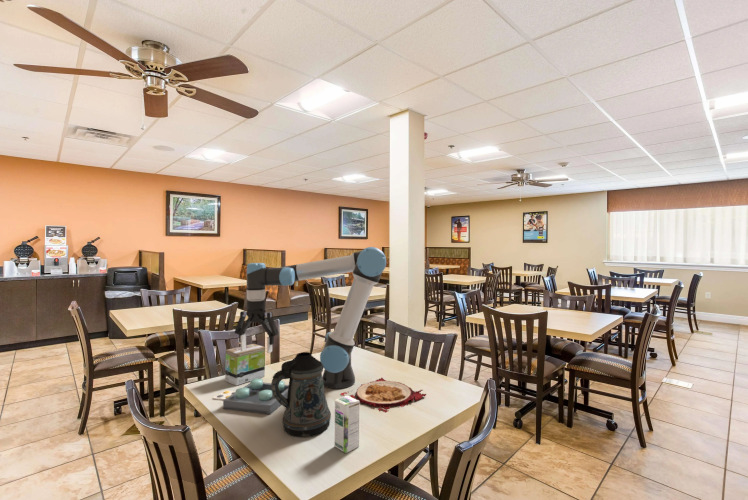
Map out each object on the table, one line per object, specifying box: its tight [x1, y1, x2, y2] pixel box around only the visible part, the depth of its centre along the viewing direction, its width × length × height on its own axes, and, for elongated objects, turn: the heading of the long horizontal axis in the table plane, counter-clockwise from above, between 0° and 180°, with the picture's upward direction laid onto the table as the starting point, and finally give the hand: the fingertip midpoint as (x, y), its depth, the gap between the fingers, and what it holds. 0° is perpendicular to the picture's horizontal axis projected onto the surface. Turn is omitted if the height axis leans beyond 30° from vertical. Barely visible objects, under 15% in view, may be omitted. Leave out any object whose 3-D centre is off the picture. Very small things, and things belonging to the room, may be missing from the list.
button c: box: [249, 378, 264, 389], centre depth 151 cm, size 5×5×2 cm
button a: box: [278, 380, 285, 391], centre depth 148 cm, size 5×5×2 cm
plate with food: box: [340, 377, 427, 414], centre depth 149 cm, size 25×26×4 cm
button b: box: [259, 390, 272, 402], centre depth 138 cm, size 5×5×2 cm
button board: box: [222, 382, 289, 415], centre depth 145 cm, size 20×20×3 cm
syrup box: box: [333, 395, 360, 454], centre depth 111 cm, size 6×6×14 cm
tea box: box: [224, 343, 266, 387], centre depth 169 cm, size 15×10×15 cm
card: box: [212, 389, 236, 401], centre depth 149 cm, size 8×8×1 cm
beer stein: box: [270, 351, 332, 438], centre depth 123 cm, size 16×19×25 cm
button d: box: [235, 387, 249, 399], centre depth 141 cm, size 5×5×2 cm
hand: (256, 351), depth 151 cm, fingers open, 12 cm apart
